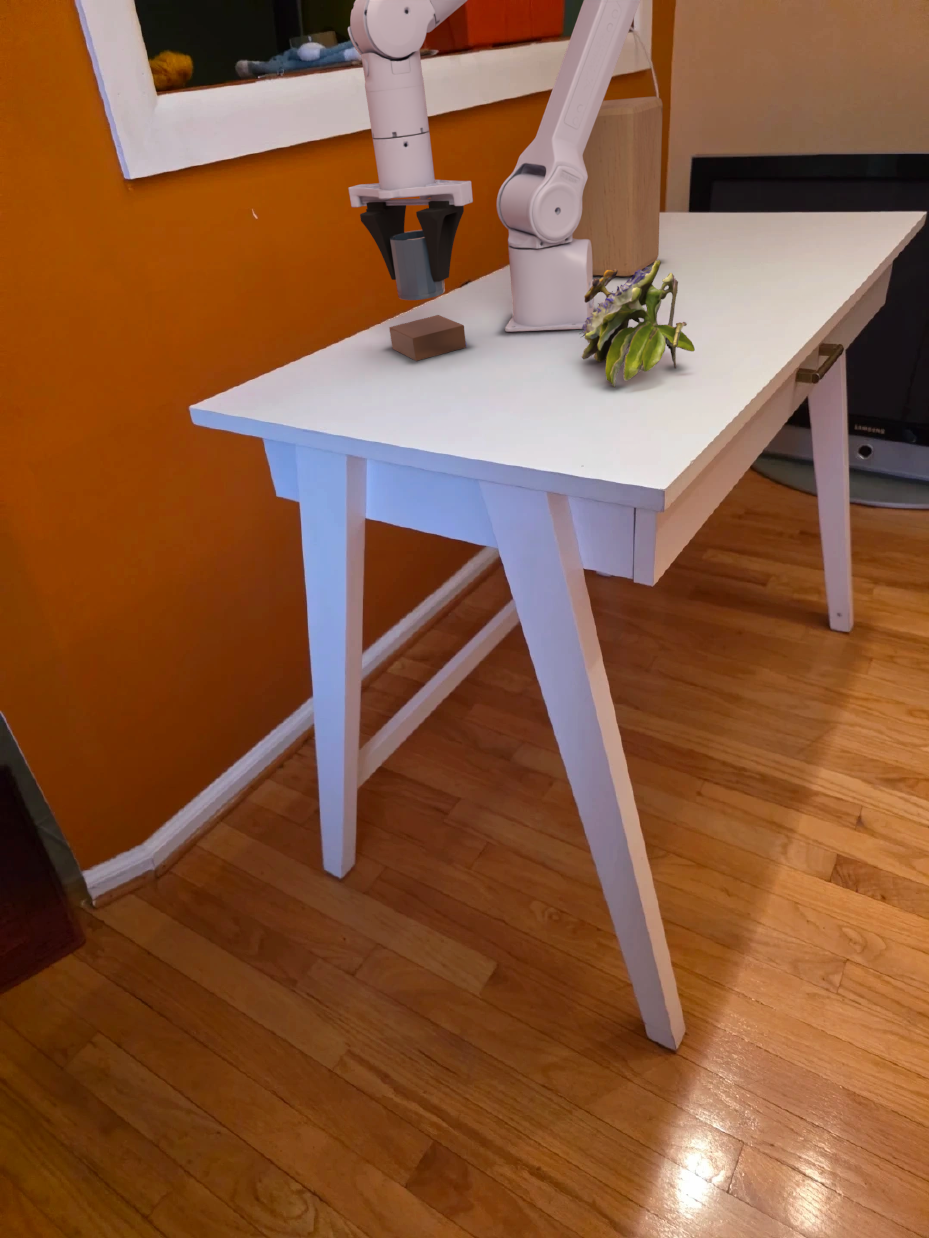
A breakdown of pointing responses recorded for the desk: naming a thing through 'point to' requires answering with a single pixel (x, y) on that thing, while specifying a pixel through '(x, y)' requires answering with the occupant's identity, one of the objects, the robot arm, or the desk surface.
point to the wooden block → (623, 186)
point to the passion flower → (643, 340)
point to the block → (427, 337)
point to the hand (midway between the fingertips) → (419, 278)
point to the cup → (413, 267)
